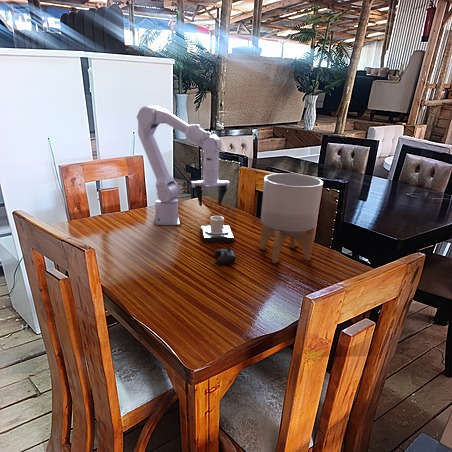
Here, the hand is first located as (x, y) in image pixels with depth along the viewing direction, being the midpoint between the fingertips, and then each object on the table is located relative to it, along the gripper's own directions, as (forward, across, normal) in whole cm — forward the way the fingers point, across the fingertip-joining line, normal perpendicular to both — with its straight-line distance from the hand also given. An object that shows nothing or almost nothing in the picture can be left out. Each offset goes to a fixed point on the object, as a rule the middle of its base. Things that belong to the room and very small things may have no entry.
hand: (210, 205), depth 158 cm
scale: (+9, -1, +10) cm, 14 cm away
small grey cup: (+7, -1, +9) cm, 11 cm away
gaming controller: (+10, +2, +33) cm, 34 cm away
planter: (+10, -21, +30) cm, 38 cm away
